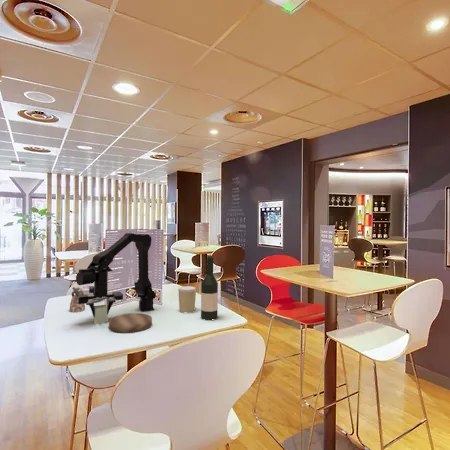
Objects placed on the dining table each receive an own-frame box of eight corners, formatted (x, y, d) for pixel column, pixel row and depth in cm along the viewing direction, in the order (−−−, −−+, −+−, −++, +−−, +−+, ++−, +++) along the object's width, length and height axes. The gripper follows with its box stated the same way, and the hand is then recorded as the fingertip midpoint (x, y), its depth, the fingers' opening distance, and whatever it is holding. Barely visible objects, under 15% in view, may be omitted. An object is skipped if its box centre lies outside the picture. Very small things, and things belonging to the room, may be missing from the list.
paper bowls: (86, 297, 185) (86, 284, 185) (109, 298, 183) (109, 285, 183) (70, 303, 170) (70, 289, 170) (95, 304, 168) (95, 290, 168)
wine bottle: (220, 316, 148) (221, 255, 149) (212, 321, 141) (213, 257, 141) (205, 314, 152) (206, 254, 152) (197, 318, 144) (198, 256, 145)
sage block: (105, 319, 142) (105, 304, 142) (107, 322, 137) (107, 307, 137) (93, 321, 139) (94, 305, 139) (95, 324, 135) (95, 308, 135)
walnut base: (145, 317, 145) (145, 311, 145) (156, 328, 130) (156, 321, 130) (106, 323, 137) (106, 316, 137) (112, 335, 121) (112, 328, 121)
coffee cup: (198, 309, 161) (199, 286, 161) (191, 314, 152) (191, 290, 152) (183, 307, 164) (183, 285, 164) (174, 312, 155) (175, 288, 155)
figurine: (78, 312, 152) (79, 288, 152) (66, 311, 153) (66, 288, 153) (87, 309, 159) (88, 286, 159) (76, 308, 160) (76, 285, 160)
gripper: (119, 277, 150) (118, 309, 150) (77, 280, 141) (76, 314, 141) (123, 281, 140) (122, 315, 140) (78, 285, 131) (78, 321, 131)
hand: (100, 316), depth 138 cm, fingers closed on sage block, 5 cm apart
